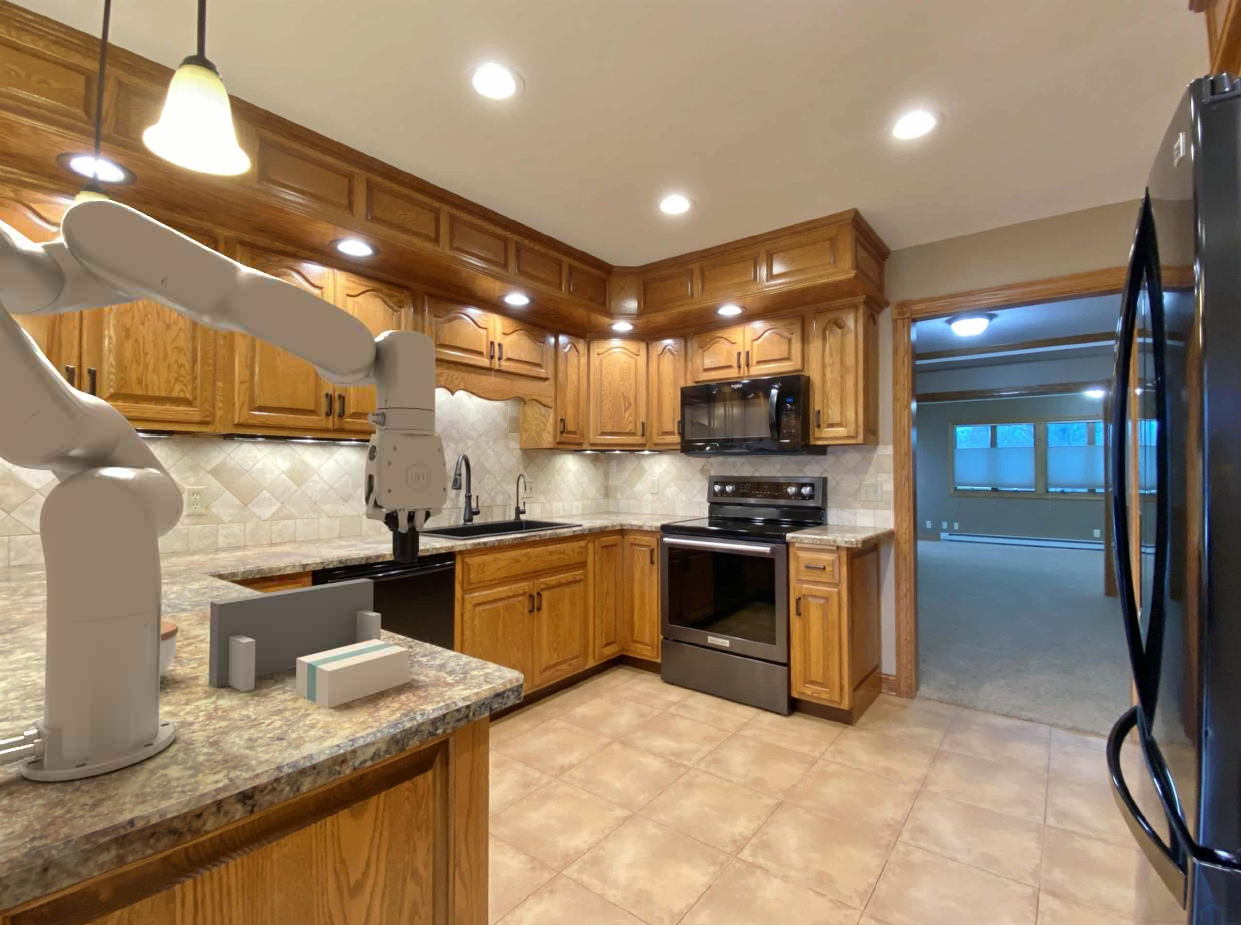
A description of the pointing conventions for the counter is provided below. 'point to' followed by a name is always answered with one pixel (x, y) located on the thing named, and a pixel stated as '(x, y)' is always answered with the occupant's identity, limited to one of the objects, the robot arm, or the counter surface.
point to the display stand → (286, 629)
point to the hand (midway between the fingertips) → (405, 560)
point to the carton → (351, 672)
